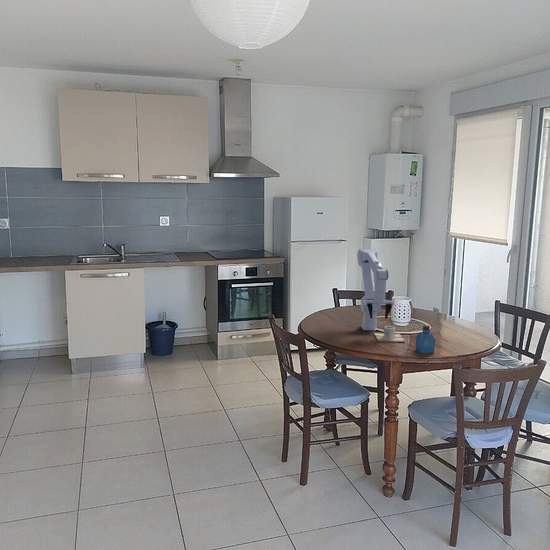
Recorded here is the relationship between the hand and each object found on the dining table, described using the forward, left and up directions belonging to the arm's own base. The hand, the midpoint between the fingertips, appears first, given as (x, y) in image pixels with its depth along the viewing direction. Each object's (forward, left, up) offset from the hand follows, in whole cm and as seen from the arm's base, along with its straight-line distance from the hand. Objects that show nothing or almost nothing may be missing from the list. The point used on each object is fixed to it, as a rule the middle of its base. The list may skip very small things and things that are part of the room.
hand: (378, 318), depth 274 cm
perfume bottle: (+24, +18, -10) cm, 32 cm away
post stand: (+4, +5, -9) cm, 12 cm away
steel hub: (+5, +5, -8) cm, 11 cm away
